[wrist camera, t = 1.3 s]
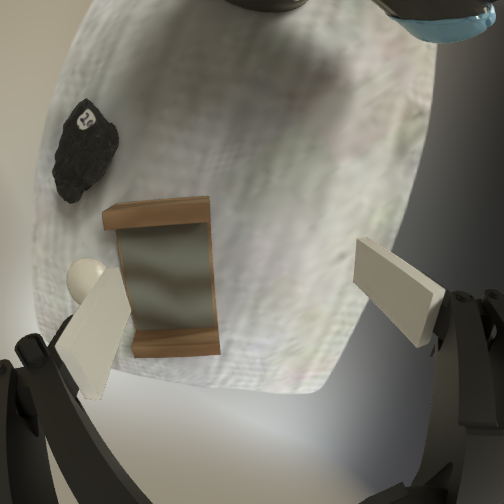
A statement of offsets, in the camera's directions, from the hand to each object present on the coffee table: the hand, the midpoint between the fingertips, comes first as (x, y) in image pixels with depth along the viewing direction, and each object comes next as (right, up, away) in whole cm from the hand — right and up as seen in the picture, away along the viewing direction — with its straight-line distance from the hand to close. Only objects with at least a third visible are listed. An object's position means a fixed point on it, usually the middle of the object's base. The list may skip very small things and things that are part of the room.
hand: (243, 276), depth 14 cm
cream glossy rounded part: (-22, -3, +20) cm, 30 cm away
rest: (-11, -2, +21) cm, 24 cm away
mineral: (-19, +14, +14) cm, 28 cm away
